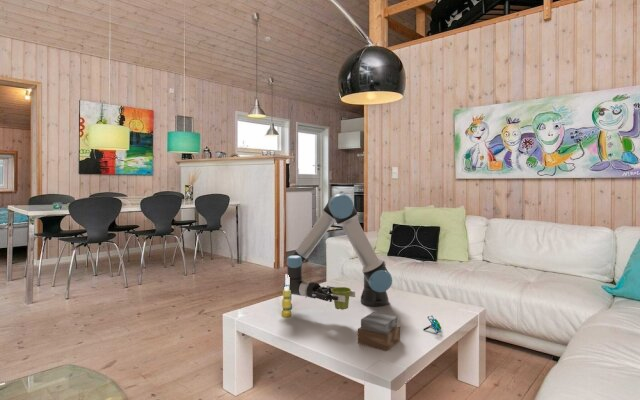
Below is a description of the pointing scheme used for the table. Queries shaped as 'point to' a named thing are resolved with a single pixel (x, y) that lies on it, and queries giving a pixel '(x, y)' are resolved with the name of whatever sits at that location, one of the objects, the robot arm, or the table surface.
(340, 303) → the plant pot
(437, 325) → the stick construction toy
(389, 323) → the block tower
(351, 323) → the table surface
